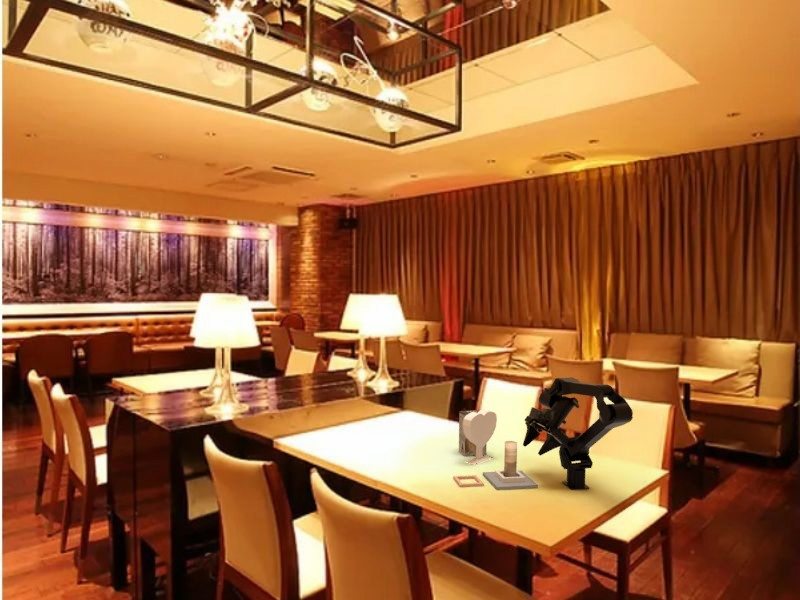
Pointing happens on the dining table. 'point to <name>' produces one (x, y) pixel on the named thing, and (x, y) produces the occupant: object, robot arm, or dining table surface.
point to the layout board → (509, 480)
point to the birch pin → (510, 459)
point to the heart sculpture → (479, 431)
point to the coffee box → (464, 444)
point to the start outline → (468, 483)
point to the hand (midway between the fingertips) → (531, 450)
